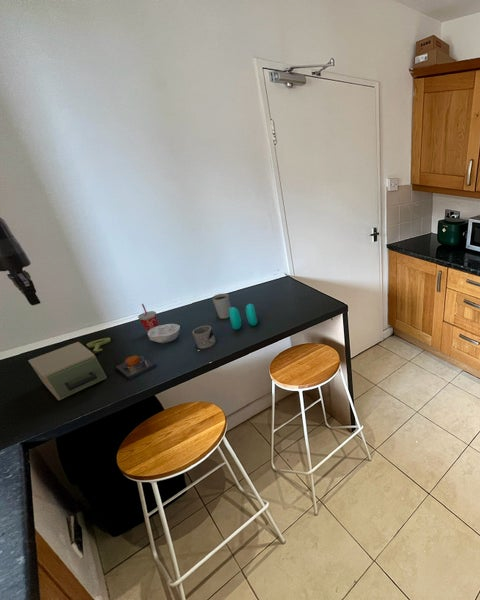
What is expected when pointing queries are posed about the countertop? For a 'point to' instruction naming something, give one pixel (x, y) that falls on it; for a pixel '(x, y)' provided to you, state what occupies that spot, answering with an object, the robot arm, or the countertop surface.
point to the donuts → (237, 320)
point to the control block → (135, 367)
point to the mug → (204, 336)
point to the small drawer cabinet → (61, 362)
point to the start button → (132, 360)
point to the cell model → (164, 333)
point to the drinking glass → (222, 305)
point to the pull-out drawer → (76, 377)
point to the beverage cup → (148, 319)
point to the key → (98, 344)
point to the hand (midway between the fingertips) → (35, 303)
